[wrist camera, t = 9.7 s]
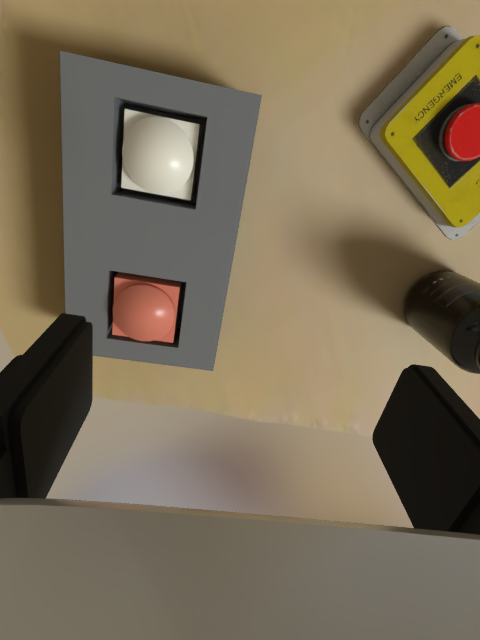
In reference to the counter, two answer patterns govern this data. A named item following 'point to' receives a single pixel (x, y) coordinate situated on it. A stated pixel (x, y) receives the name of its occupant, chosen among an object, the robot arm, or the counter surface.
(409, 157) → the emergency button
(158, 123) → the ivory button
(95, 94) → the button panel
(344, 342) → the counter surface
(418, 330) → the supplement bottle
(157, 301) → the red button
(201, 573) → the robot arm
